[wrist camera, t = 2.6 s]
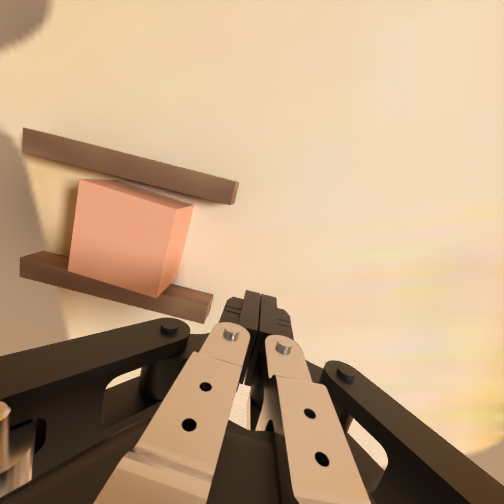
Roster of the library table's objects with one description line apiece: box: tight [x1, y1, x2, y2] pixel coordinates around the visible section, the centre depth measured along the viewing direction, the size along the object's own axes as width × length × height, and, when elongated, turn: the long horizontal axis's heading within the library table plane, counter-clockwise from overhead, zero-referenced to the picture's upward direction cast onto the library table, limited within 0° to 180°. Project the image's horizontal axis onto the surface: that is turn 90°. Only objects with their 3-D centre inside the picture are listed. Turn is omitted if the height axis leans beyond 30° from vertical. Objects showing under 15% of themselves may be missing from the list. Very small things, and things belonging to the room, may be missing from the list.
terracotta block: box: [68, 179, 194, 298], centre depth 18 cm, size 6×6×4 cm
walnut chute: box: [20, 128, 239, 324], centre depth 19 cm, size 10×14×2 cm
